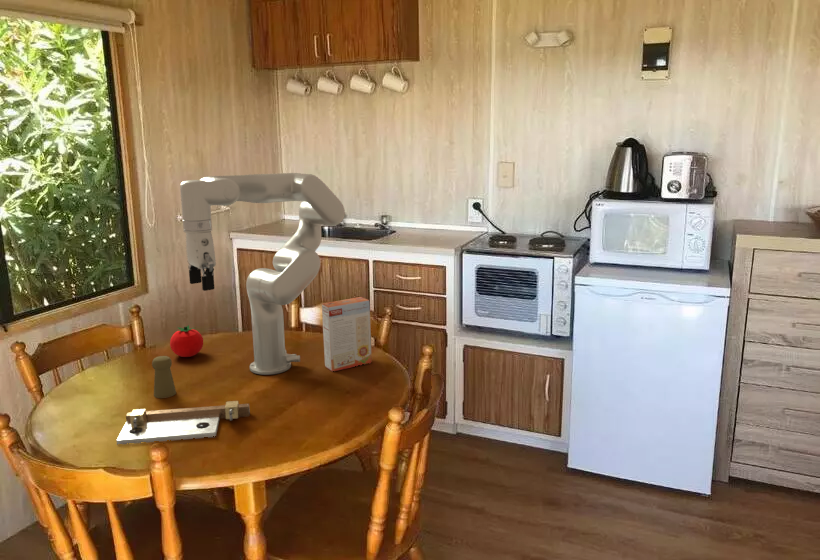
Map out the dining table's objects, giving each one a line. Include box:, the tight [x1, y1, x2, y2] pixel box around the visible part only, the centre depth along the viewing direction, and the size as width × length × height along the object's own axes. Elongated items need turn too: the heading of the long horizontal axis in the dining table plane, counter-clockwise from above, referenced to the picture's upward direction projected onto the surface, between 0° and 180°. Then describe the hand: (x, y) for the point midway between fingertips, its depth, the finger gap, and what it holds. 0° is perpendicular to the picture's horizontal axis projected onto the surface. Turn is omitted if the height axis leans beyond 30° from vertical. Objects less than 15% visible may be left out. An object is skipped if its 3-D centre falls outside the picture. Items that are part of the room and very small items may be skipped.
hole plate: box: [116, 403, 251, 446], centre depth 173 cm, size 30×14×4 cm, turn 100°
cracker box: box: [321, 296, 372, 373], centre depth 212 cm, size 14×6×21 cm, turn 121°
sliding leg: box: [225, 400, 240, 421], centre depth 175 cm, size 3×6×3 cm, turn 10°
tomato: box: [169, 324, 204, 358], centre depth 223 cm, size 10×10×10 cm
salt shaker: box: [151, 355, 177, 399], centre depth 193 cm, size 6×6×11 cm
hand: (202, 286), depth 191 cm, fingers open, 9 cm apart
